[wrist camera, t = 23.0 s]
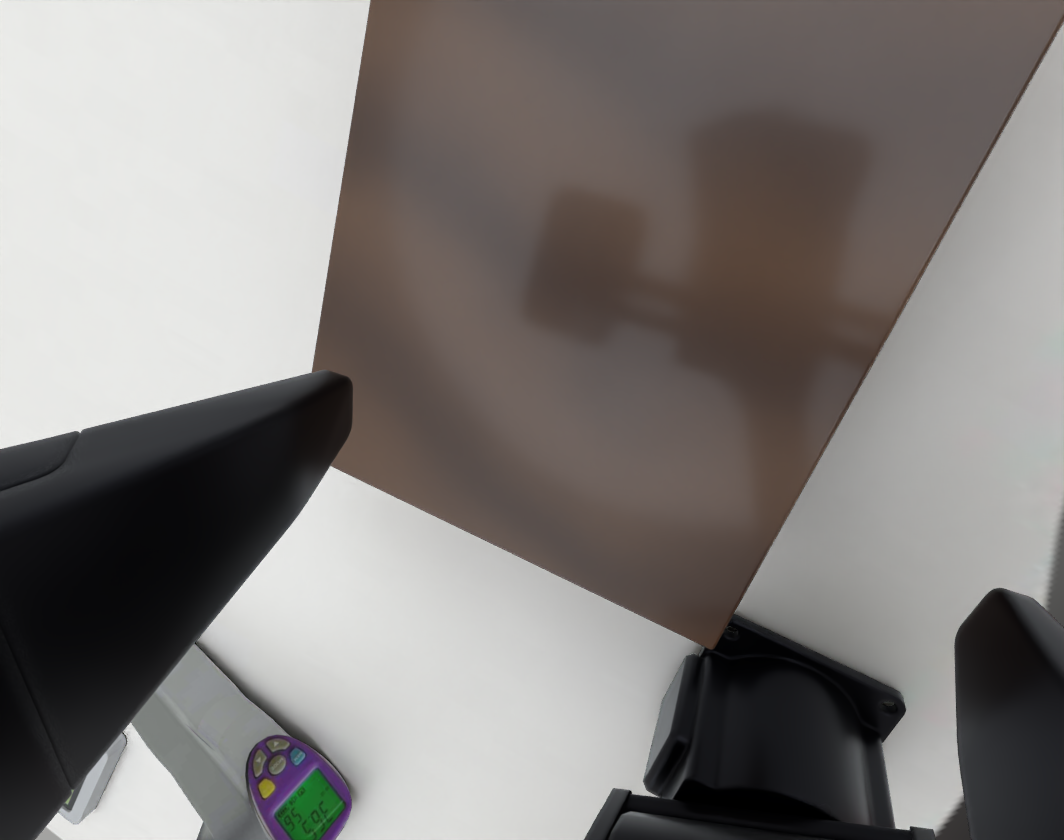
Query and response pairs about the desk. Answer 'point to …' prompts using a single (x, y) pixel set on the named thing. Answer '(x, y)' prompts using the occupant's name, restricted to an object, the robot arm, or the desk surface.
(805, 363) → the drawer unit
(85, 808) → the handheld gaming console
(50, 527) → the robot arm
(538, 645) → the desk surface
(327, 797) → the infrared thermometer
